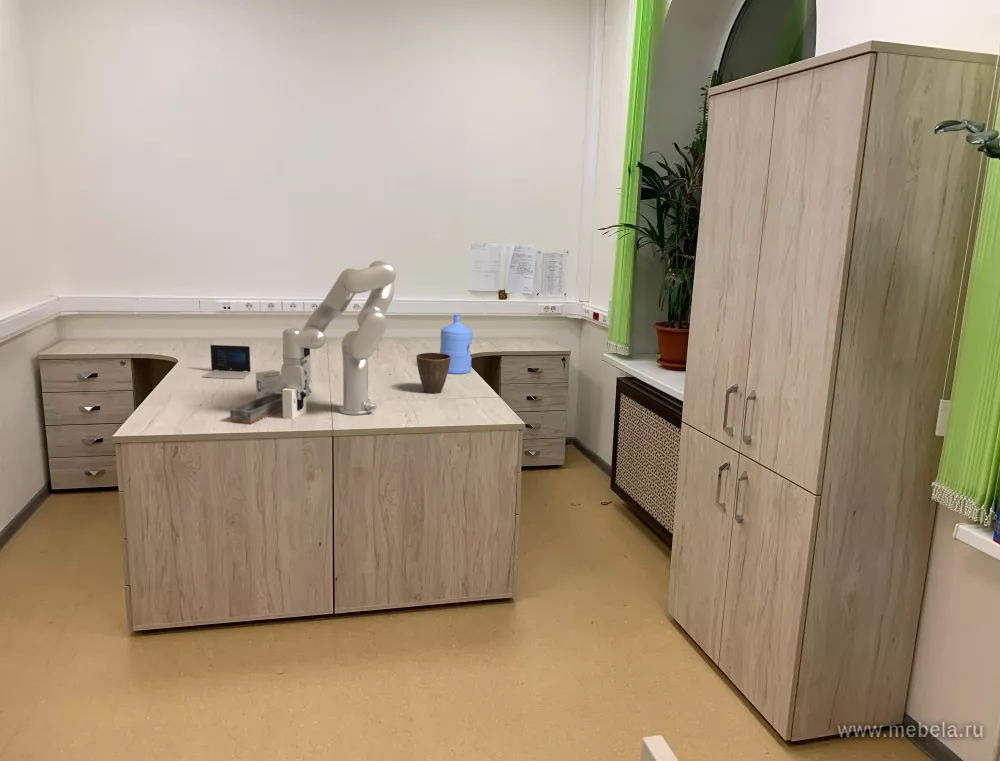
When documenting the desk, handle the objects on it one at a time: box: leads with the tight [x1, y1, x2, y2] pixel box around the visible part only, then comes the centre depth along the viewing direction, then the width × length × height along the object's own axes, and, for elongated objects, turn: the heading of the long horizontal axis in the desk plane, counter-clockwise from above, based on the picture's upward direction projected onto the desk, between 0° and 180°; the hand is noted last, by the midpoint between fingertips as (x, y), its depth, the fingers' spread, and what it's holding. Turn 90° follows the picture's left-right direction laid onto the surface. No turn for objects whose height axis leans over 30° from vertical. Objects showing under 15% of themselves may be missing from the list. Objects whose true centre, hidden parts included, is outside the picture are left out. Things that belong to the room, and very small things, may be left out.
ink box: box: [255, 369, 282, 400], centre depth 309 cm, size 9×5×12 cm, turn 141°
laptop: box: [202, 344, 252, 380], centre depth 346 cm, size 18×12×13 cm
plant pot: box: [415, 352, 451, 395], centre depth 333 cm, size 15×15×16 cm
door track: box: [229, 393, 283, 425], centre depth 291 cm, size 8×28×4 cm, turn 164°
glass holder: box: [304, 348, 313, 384], centre depth 341 cm, size 9×14×15 cm, turn 68°
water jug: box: [439, 313, 473, 375], centre depth 374 cm, size 16×16×28 cm
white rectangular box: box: [281, 388, 307, 420], centre depth 289 cm, size 4×10×11 cm, turn 164°
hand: (294, 407), depth 290 cm, fingers closed on white rectangular box, 4 cm apart
